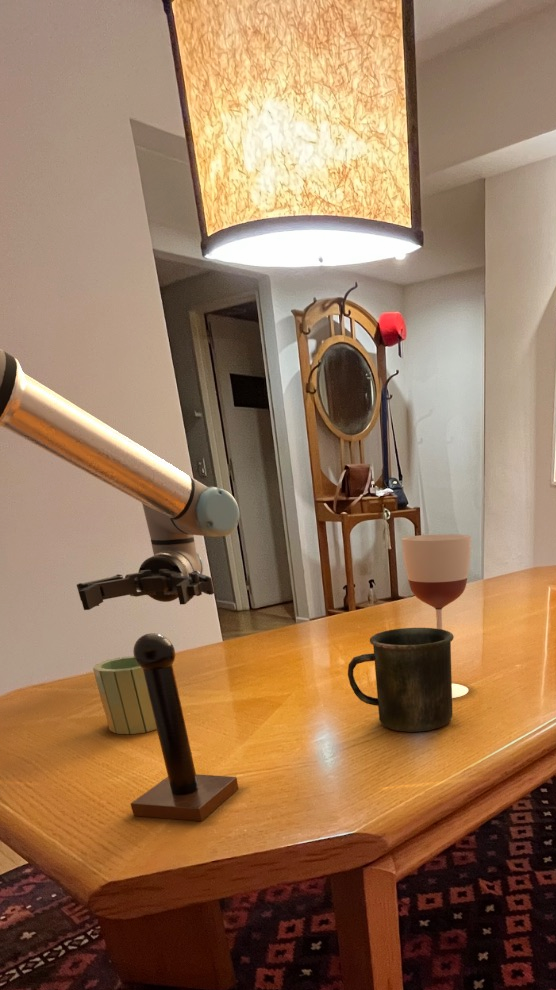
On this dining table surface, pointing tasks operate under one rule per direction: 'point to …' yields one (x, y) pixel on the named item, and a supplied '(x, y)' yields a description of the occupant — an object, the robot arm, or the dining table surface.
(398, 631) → the mug
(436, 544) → the wineglass
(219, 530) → the robot arm
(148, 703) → the ribbed green pot
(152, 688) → the post stand
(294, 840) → the dining table surface
